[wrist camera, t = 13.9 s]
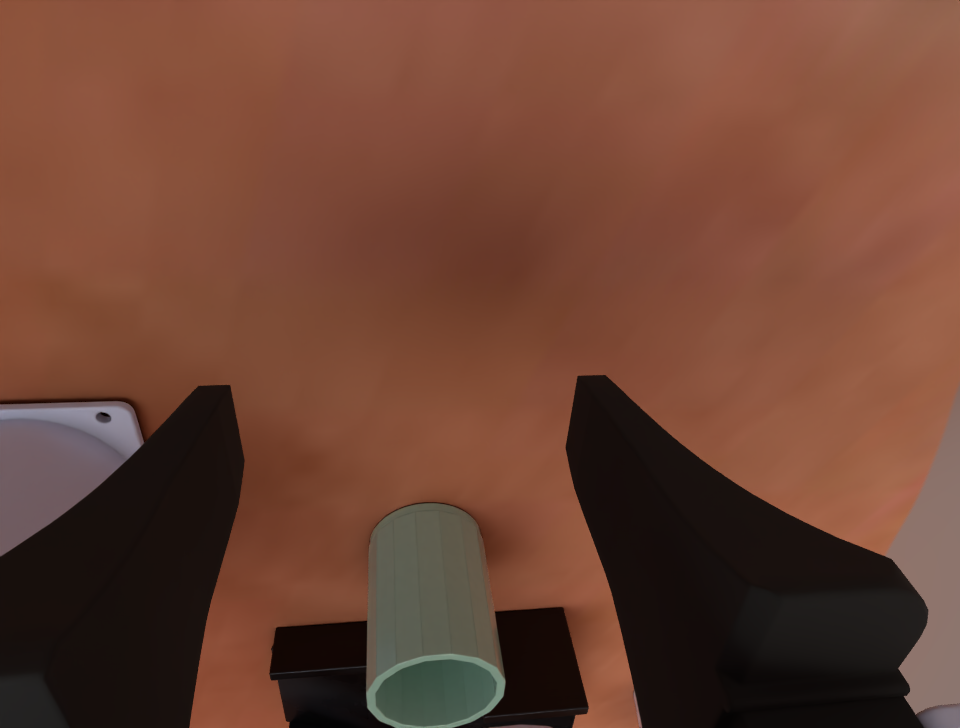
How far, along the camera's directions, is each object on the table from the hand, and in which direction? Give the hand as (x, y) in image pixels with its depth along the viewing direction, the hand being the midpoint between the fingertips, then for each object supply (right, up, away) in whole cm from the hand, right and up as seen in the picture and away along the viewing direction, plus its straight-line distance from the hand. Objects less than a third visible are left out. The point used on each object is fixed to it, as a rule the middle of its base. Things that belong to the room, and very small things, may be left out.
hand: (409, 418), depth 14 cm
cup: (-1, -7, +18) cm, 19 cm away
